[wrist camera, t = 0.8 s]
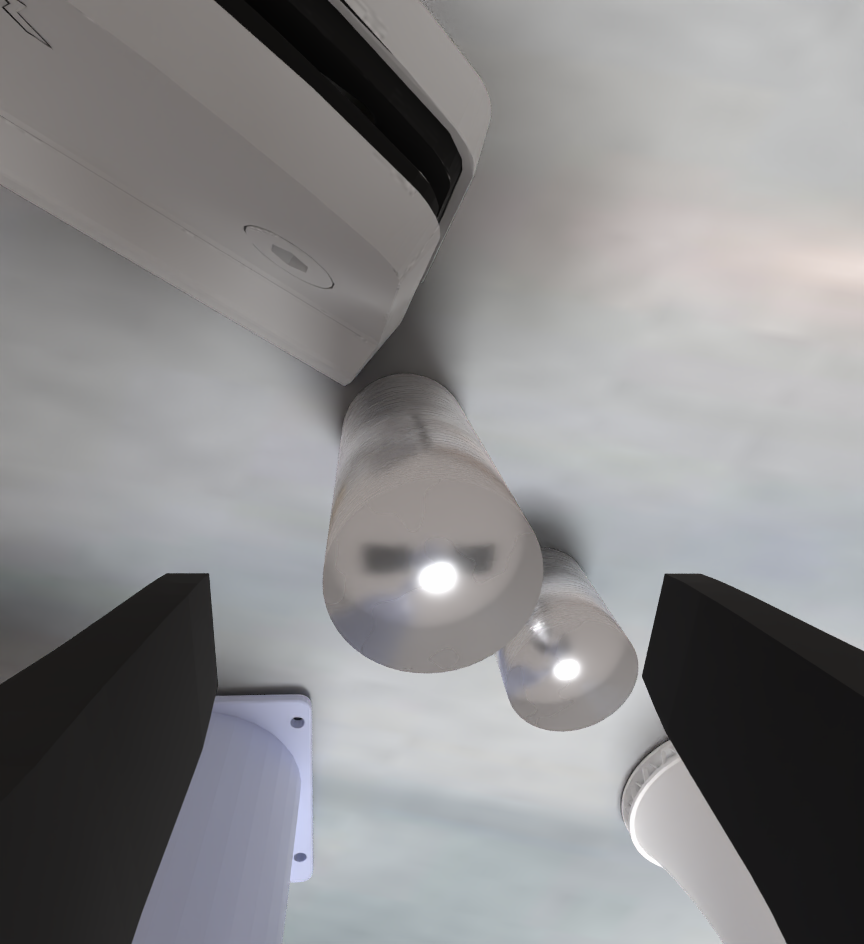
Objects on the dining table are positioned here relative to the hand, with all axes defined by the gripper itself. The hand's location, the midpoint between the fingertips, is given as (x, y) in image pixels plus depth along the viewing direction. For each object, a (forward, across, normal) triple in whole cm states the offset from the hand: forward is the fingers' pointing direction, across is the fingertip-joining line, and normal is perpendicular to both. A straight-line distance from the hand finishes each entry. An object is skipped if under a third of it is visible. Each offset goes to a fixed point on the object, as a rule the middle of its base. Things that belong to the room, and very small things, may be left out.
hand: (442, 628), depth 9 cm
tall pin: (+10, 0, 0) cm, 10 cm away
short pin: (+10, -5, +6) cm, 13 cm away
